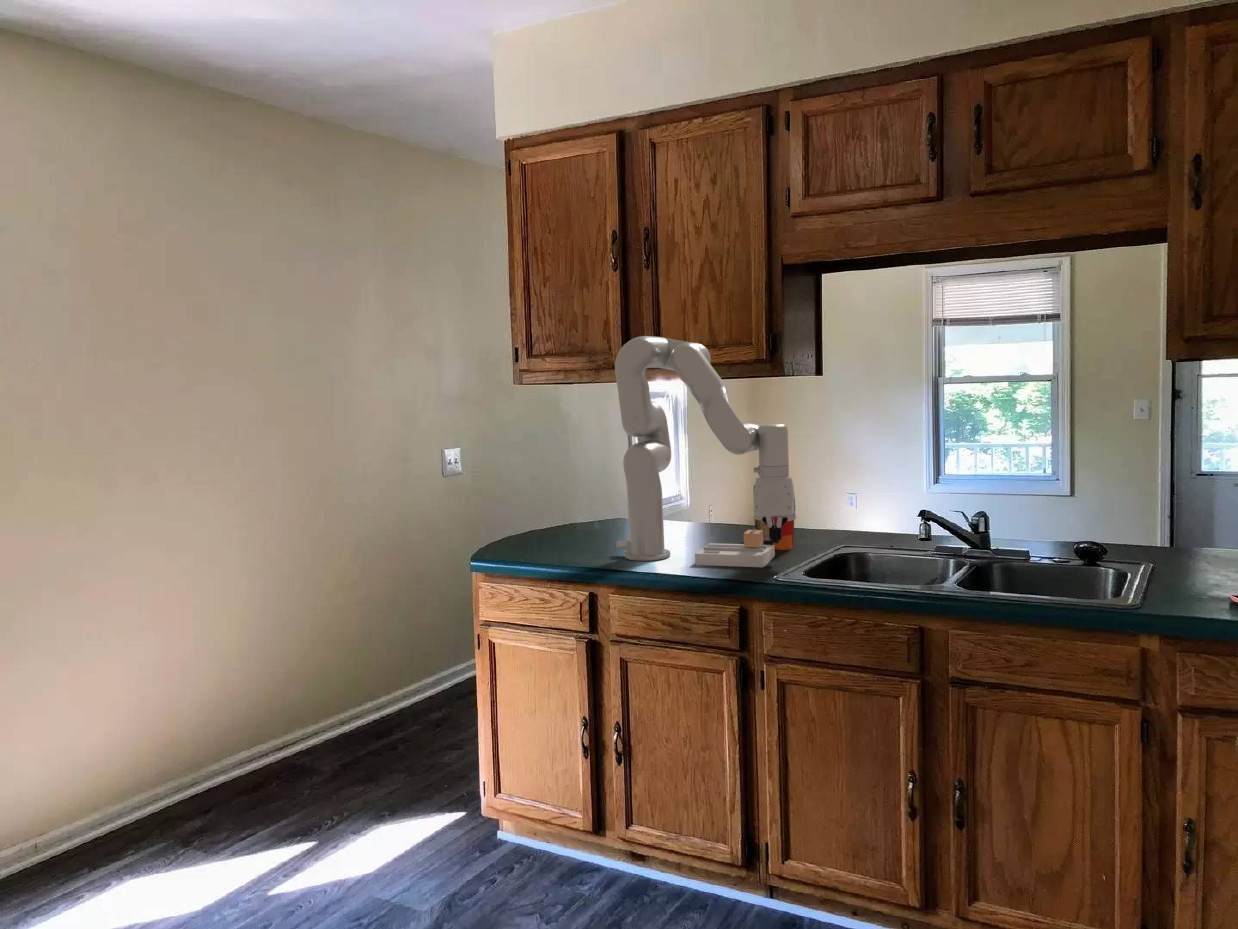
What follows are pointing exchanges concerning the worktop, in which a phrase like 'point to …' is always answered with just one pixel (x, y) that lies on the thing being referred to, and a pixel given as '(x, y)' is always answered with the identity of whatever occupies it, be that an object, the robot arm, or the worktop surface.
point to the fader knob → (753, 538)
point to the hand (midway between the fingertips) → (775, 542)
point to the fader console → (734, 555)
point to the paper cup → (785, 535)
